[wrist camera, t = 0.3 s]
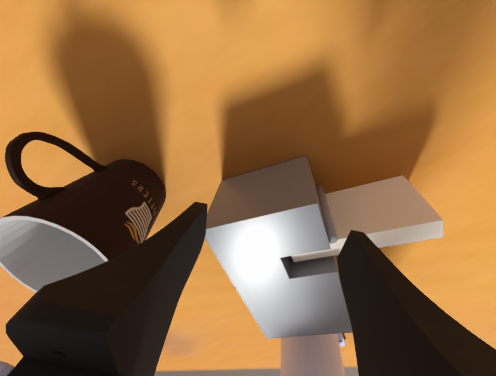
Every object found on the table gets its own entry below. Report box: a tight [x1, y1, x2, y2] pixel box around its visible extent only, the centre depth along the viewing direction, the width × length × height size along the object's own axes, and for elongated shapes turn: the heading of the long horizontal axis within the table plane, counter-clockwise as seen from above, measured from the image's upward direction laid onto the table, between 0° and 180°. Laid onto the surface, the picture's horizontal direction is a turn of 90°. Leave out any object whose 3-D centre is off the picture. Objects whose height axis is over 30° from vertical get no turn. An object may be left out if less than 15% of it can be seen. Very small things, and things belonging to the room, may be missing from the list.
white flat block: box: [291, 175, 443, 262], centre depth 19 cm, size 2×10×6 cm, turn 111°
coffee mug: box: [0, 132, 166, 293], centre depth 19 cm, size 12×9×10 cm
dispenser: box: [205, 155, 353, 339], centre depth 21 cm, size 14×9×7 cm, turn 21°
